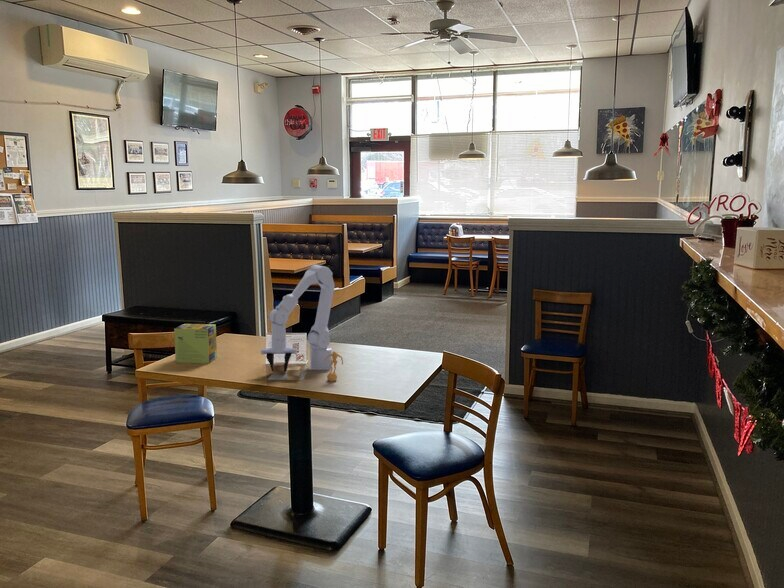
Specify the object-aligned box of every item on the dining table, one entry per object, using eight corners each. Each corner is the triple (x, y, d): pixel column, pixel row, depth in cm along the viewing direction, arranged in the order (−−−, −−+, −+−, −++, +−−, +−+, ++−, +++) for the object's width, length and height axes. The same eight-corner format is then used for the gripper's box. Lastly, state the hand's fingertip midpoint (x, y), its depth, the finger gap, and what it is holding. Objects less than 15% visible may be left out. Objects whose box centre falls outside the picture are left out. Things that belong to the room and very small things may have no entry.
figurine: (320, 381, 243) (320, 352, 241) (327, 377, 248) (327, 349, 246) (339, 384, 240) (339, 354, 238) (346, 380, 245) (345, 351, 244)
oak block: (301, 375, 249) (301, 366, 248) (299, 379, 244) (299, 369, 243) (288, 375, 249) (288, 366, 248) (286, 379, 244) (286, 369, 243)
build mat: (307, 372, 255) (307, 371, 255) (302, 381, 243) (302, 380, 243) (273, 372, 255) (273, 371, 255) (267, 381, 243) (267, 379, 243)
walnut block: (286, 371, 254) (285, 362, 254) (284, 374, 250) (283, 365, 249) (275, 371, 254) (274, 362, 254) (273, 374, 250) (272, 365, 249)
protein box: (209, 363, 268) (208, 329, 265) (175, 363, 269) (173, 328, 266) (217, 357, 278) (216, 324, 276) (184, 356, 279) (183, 323, 276)
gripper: (297, 336, 254) (298, 367, 256) (262, 336, 253) (263, 368, 256) (295, 340, 247) (296, 372, 249) (259, 340, 246) (260, 373, 249)
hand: (279, 370), depth 252 cm, fingers closed on walnut block, 5 cm apart
